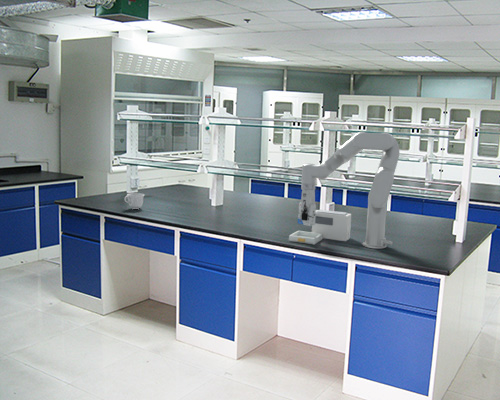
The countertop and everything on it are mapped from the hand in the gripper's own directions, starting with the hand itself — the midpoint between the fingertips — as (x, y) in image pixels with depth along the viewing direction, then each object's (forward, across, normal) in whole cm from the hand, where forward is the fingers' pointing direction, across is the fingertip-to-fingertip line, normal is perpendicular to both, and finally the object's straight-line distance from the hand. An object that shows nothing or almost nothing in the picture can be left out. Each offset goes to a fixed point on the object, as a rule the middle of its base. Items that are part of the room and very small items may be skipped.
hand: (306, 218), depth 284 cm
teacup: (+13, +18, +132) cm, 134 cm away
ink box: (+3, 0, 0) cm, 3 cm away
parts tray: (+12, 0, 0) cm, 12 cm away
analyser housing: (+12, +13, -10) cm, 20 cm away
